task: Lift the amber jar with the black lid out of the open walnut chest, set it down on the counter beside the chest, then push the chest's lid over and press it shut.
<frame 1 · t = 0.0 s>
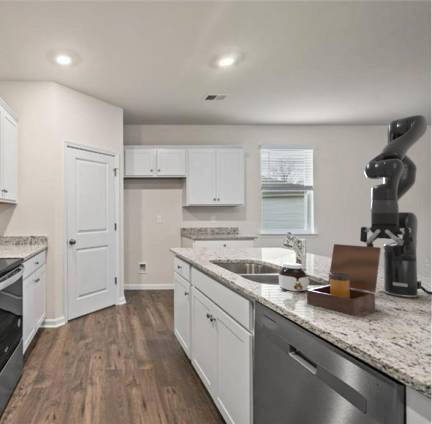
hand: (385, 254, 106), 17 cm above the countertop, tool pointing down, fingers open, 8 cm apart
chest: (340, 308, 96), on the countertop
chest lid: (353, 266, 101), point 14 cm above the countertop, hinge at 108.0°
jar: (340, 306, 96), point 1 cm above the countertop, touching chest
coffee box: (349, 292, 117), on the countertop
spread jar: (294, 290, 119), on the countertop
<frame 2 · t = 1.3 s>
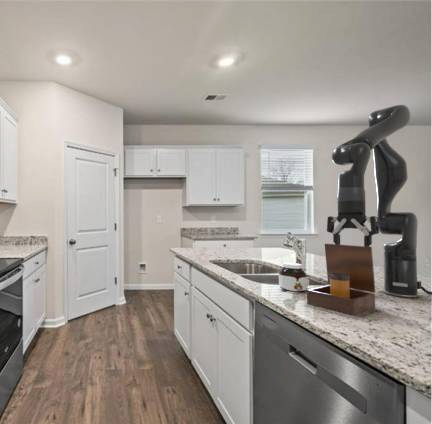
hand: (351, 245, 99), 22 cm above the countertop, tool pointing down, fingers open, 8 cm apart
chest lid: (348, 266, 99), point 14 cm above the countertop, hinge at 82.7°
everything else where it was.
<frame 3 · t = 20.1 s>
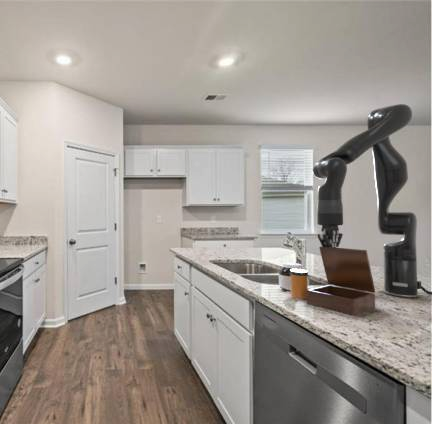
hand: (330, 258, 103), 16 cm above the countertop, tool pointing down, fingers closed
chest lid: (345, 268, 98), point 13 cm above the countertop, hinge at 68.6°, touching gripper, hand
jar: (299, 299, 107), on the countertop
everything else where it was.
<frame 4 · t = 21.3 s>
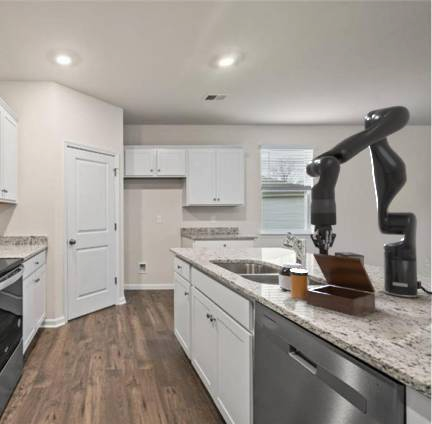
hand: (323, 259, 101), 16 cm above the countertop, tool pointing down, fingers closed
chest lid: (343, 272, 97), point 12 cm above the countertop, hinge at 50.6°
everything else where it was.
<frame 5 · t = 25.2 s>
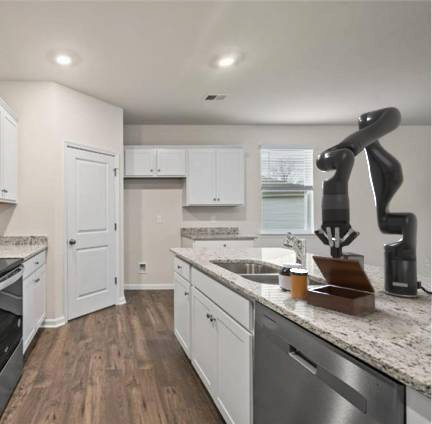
hand: (336, 258, 95), 18 cm above the countertop, tool pointing down, fingers closed
chest lid: (342, 273, 97), point 12 cm above the countertop, hinge at 46.6°, touching gripper
everything else where it was.
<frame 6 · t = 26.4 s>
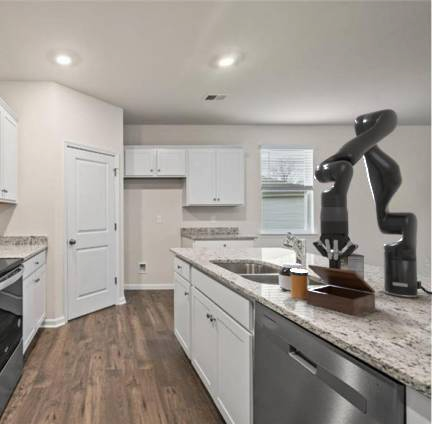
hand: (334, 270, 95), 14 cm above the countertop, tool pointing down, fingers closed
chest lid: (340, 278, 97), point 10 cm above the countertop, hinge at 31.2°, touching gripper
everything else where it was.
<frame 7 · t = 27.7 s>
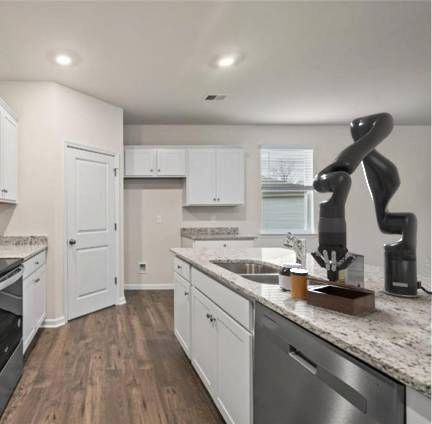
hand: (332, 281, 94), 10 cm above the countertop, tool pointing down, fingers closed
chest lid: (339, 284, 96), point 8 cm above the countertop, hinge at 14.2°, touching gripper
everything else where it was.
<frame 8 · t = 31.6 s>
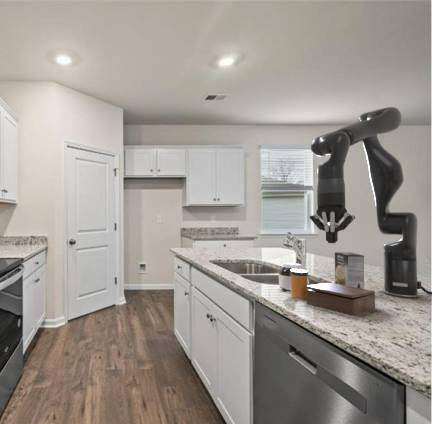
hand: (331, 243, 94), 23 cm above the countertop, tool pointing down, fingers closed
chest lid: (339, 289, 96), point 7 cm above the countertop, hinge at 2.4°
everything else where it was.
at the end: jar inside the target area (0.0 cm from its centre), on the countertop; jar tilted 0°; chest lid at +2° (first picture: +108°) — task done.
